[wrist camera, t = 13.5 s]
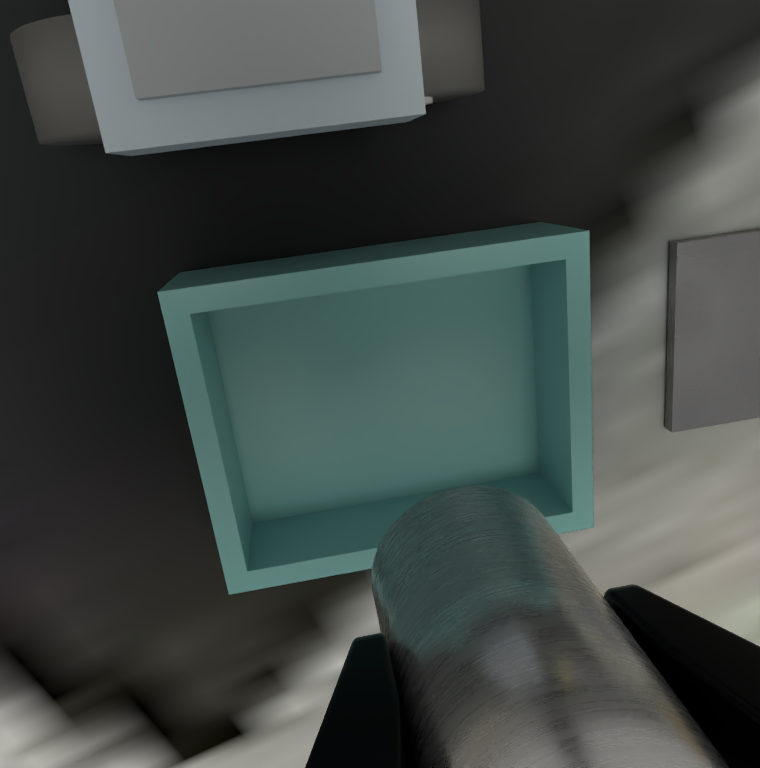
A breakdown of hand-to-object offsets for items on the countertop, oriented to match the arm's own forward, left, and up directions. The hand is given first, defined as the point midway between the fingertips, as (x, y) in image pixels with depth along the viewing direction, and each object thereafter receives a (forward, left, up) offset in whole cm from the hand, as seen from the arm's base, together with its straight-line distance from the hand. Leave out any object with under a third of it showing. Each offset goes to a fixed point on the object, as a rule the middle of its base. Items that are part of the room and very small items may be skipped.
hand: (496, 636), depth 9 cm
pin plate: (0, +12, -11) cm, 16 cm away
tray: (0, 0, -11) cm, 11 cm away
